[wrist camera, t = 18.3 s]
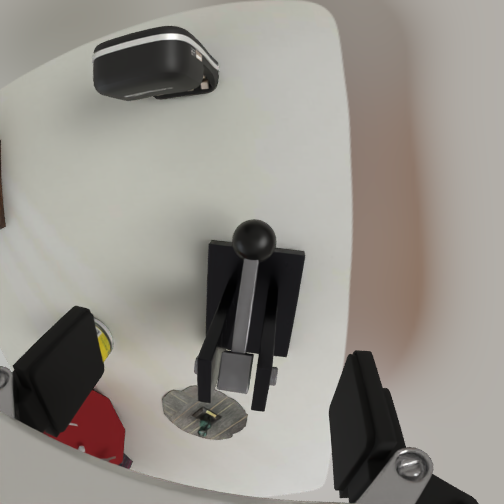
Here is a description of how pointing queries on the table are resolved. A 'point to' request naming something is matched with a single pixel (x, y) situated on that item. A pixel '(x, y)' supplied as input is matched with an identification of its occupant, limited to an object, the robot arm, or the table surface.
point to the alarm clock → (95, 430)
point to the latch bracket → (262, 320)
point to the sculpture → (204, 414)
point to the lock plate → (1, 199)
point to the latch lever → (245, 303)
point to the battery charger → (154, 65)
